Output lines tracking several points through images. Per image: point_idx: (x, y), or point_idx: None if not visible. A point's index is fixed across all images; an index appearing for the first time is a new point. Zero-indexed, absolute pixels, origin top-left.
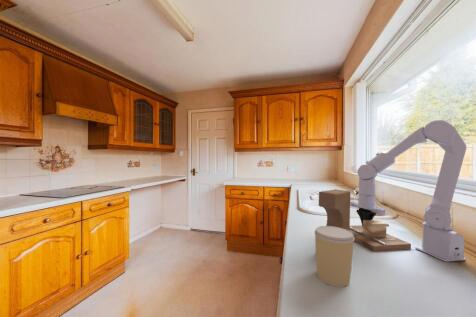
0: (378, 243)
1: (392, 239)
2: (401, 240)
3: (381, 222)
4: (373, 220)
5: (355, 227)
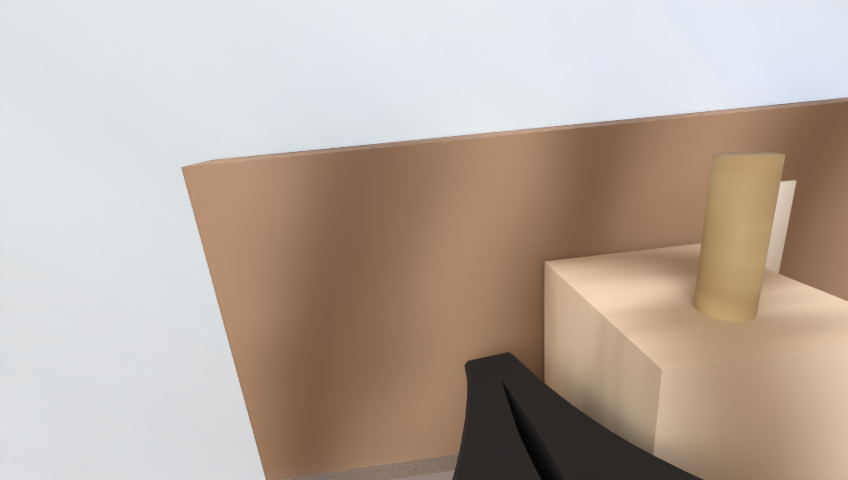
0: None
1: (779, 225)
2: (828, 123)
3: (844, 391)
4: (691, 460)
5: (326, 398)
